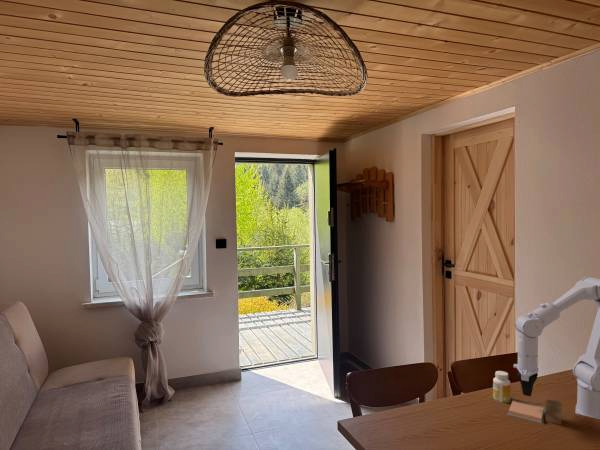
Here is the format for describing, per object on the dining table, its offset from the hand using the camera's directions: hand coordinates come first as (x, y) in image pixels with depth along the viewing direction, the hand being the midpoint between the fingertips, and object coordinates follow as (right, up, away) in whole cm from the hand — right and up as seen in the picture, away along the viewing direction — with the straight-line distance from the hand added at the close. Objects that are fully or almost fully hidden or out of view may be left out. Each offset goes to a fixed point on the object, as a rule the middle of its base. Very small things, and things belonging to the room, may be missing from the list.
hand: (527, 395), depth 133 cm
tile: (+1, -5, +2) cm, 5 cm away
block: (+5, -6, -6) cm, 10 cm away
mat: (0, -6, 0) cm, 6 cm away
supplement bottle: (-4, -6, +9) cm, 11 cm away
